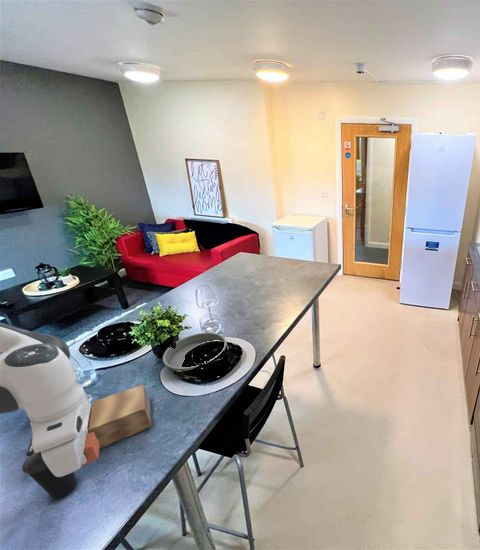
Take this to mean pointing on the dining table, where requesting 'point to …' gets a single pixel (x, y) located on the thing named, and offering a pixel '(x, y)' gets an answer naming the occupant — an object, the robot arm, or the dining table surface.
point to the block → (91, 448)
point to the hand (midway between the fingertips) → (83, 452)
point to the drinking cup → (49, 477)
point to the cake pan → (177, 355)
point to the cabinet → (120, 415)
